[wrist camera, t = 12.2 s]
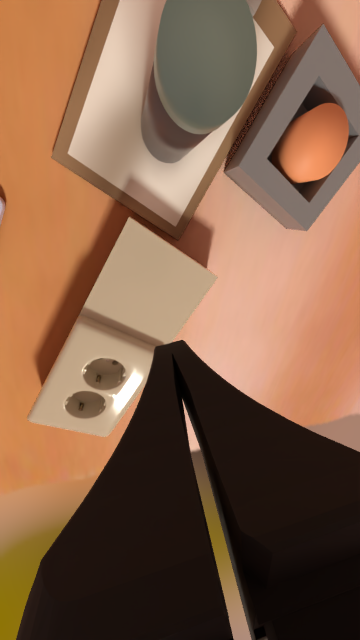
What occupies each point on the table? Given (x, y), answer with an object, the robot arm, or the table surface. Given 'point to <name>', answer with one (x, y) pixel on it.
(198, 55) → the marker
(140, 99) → the clipboard
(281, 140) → the button
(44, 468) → the table surface
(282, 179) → the grey egg holder
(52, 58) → the table surface
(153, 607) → the robot arm
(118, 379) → the electrical outlet
